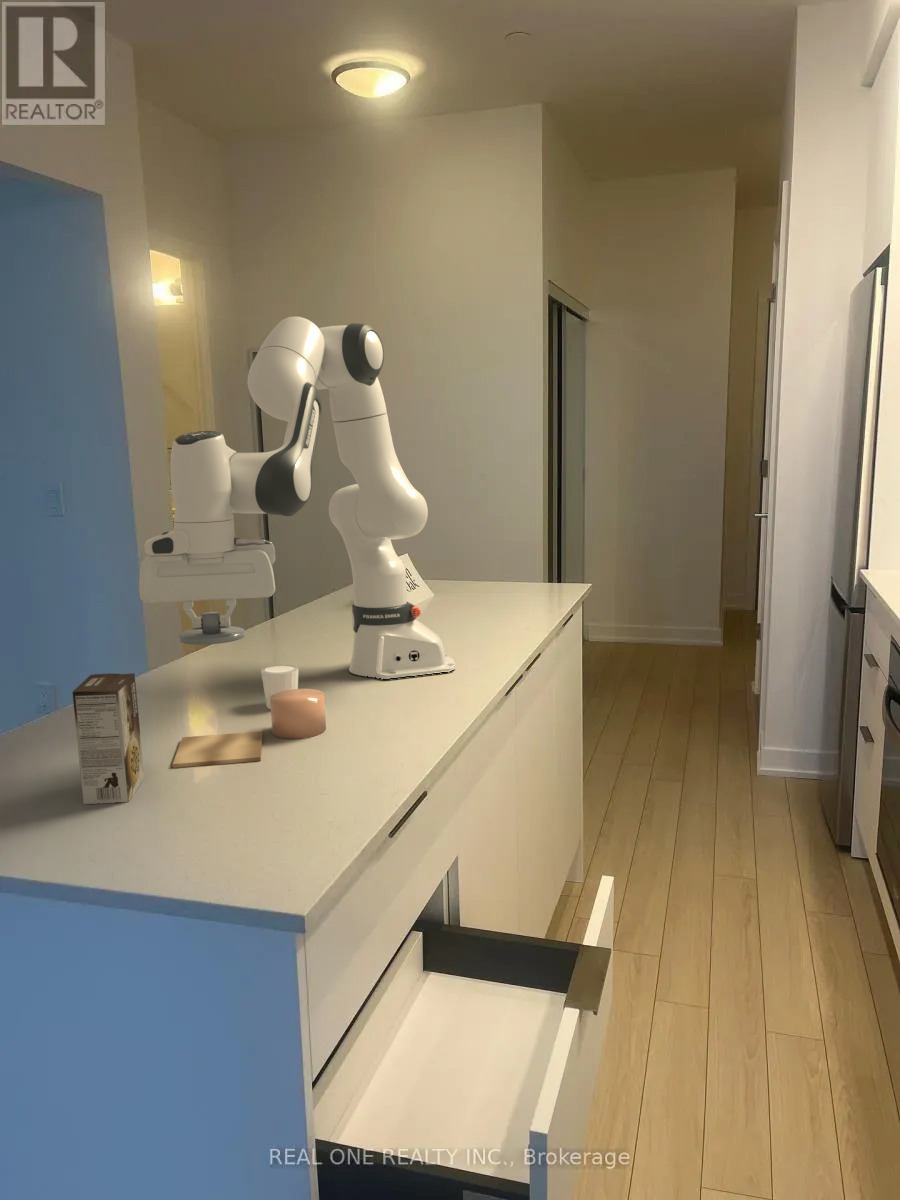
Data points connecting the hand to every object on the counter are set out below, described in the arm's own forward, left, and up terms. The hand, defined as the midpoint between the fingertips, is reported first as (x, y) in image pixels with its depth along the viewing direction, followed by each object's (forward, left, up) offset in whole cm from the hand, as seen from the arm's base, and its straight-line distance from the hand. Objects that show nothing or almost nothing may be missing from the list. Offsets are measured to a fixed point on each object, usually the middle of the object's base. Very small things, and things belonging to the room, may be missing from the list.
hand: (211, 628), depth 143 cm
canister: (-13, -8, -20) cm, 25 cm away
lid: (0, 0, -2) cm, 2 cm away
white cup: (-10, -24, -20) cm, 32 cm away
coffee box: (+13, +14, -20) cm, 28 cm away
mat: (0, 0, -20) cm, 20 cm away
